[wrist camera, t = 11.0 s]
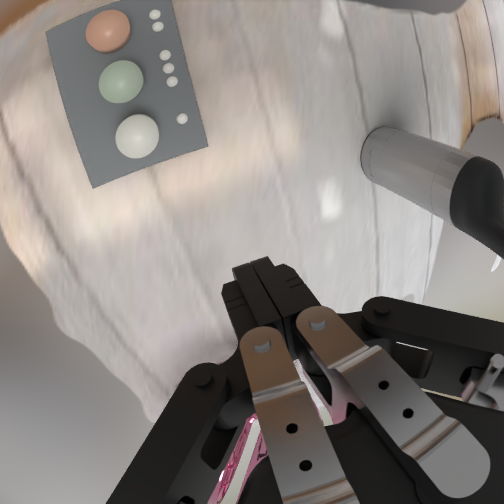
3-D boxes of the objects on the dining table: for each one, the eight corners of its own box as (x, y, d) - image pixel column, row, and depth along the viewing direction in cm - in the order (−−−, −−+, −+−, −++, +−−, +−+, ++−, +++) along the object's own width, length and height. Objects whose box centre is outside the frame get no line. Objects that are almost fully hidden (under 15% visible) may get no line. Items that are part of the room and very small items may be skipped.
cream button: (152, 108, 29) (152, 109, 26) (163, 145, 31) (164, 149, 29) (113, 122, 28) (109, 124, 26) (125, 159, 30) (123, 164, 28)
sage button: (138, 58, 25) (137, 54, 23) (148, 94, 28) (147, 94, 25) (98, 72, 25) (94, 70, 22) (109, 108, 27) (105, 110, 25)
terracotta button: (126, 11, 22) (124, 3, 20) (134, 45, 25) (133, 40, 22) (87, 25, 22) (81, 19, 19) (95, 59, 24) (90, 56, 21)
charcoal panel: (166, -8, 24) (167, -14, 22) (205, 143, 35) (208, 146, 33) (50, 34, 22) (45, 31, 20) (95, 183, 33) (92, 189, 31)
